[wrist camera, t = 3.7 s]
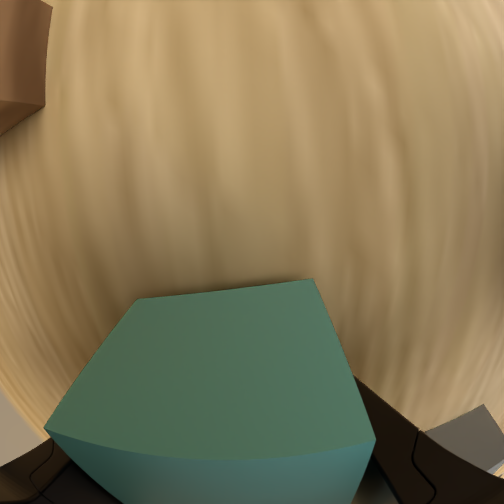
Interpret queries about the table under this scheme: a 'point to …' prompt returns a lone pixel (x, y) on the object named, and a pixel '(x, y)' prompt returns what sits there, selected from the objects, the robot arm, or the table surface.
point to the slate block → (473, 439)
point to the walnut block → (22, 59)
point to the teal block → (220, 402)
